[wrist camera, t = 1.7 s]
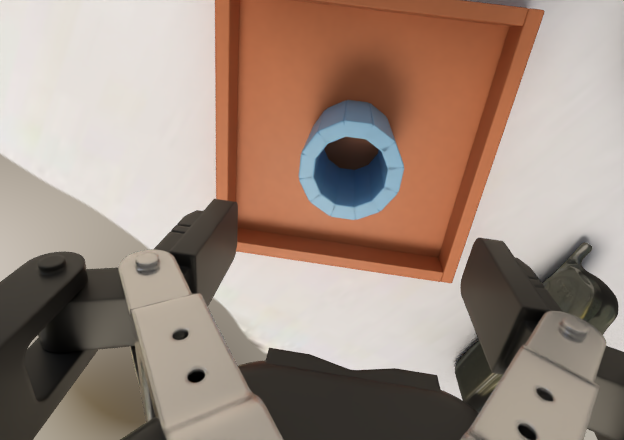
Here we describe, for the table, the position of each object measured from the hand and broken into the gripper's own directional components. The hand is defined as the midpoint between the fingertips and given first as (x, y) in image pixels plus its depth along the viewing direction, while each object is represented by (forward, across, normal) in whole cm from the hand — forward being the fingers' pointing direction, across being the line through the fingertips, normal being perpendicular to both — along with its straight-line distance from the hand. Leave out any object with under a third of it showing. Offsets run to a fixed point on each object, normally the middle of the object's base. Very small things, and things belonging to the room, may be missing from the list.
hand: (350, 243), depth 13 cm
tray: (+13, 0, 0) cm, 13 cm away
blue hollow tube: (+13, 0, 0) cm, 13 cm away
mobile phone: (+14, -15, +12) cm, 24 cm away
